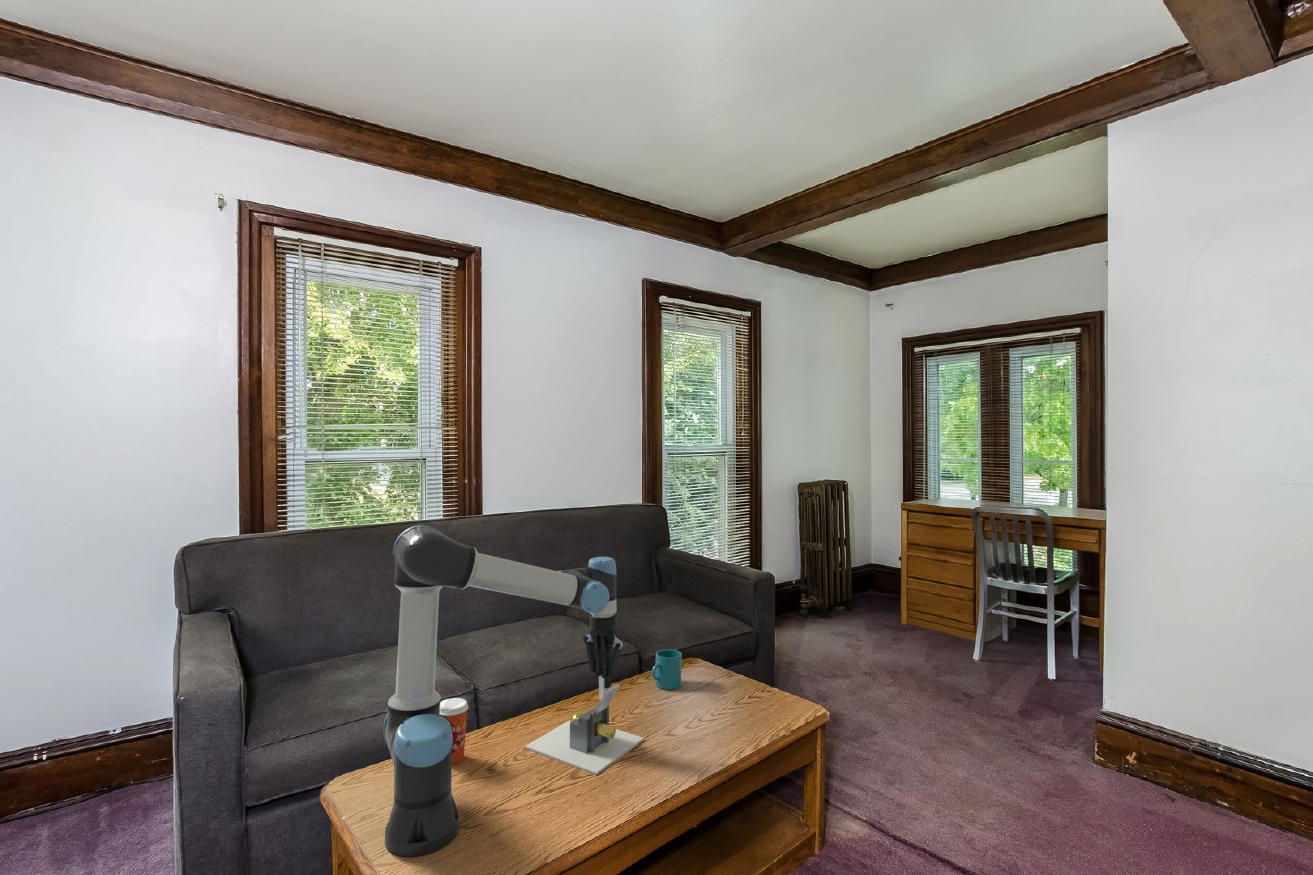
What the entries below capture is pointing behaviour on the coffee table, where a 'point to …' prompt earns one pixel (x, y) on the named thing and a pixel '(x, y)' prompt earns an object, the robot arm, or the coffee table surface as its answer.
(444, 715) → the coffee cup
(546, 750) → the mat
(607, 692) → the grey flat brushed plate
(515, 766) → the coffee table surface
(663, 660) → the cup
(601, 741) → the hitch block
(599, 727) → the pin
